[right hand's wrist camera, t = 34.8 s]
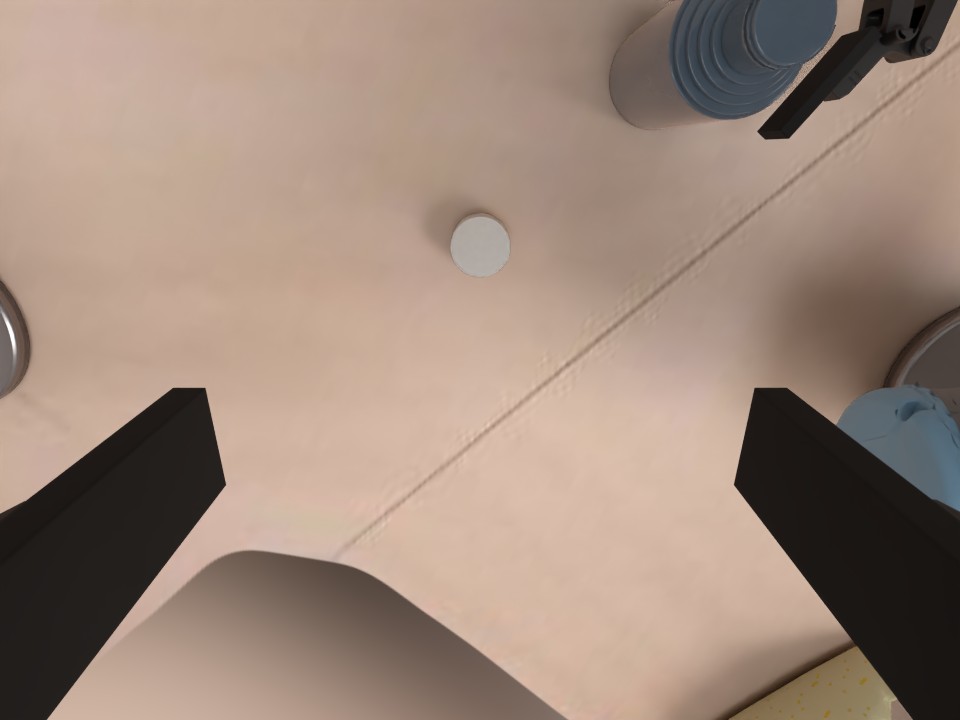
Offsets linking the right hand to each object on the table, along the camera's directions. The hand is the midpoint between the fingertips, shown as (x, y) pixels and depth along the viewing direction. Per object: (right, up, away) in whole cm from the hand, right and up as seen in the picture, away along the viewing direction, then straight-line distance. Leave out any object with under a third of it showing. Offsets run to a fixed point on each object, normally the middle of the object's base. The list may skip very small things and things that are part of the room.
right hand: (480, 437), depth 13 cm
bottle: (+12, +22, +24) cm, 34 cm away
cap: (0, +10, +26) cm, 28 cm away
